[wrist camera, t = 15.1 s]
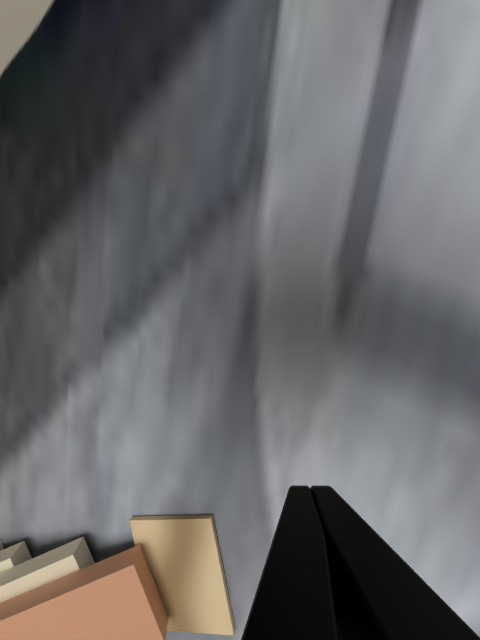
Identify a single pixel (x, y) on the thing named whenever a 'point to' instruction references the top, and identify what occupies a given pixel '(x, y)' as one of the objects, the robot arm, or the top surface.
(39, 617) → the terracotta domino
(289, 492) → the robot arm
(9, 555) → the ivory domino
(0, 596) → the ivory domino
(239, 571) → the top surface
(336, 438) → the top surface
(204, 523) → the birch pad
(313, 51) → the top surface
